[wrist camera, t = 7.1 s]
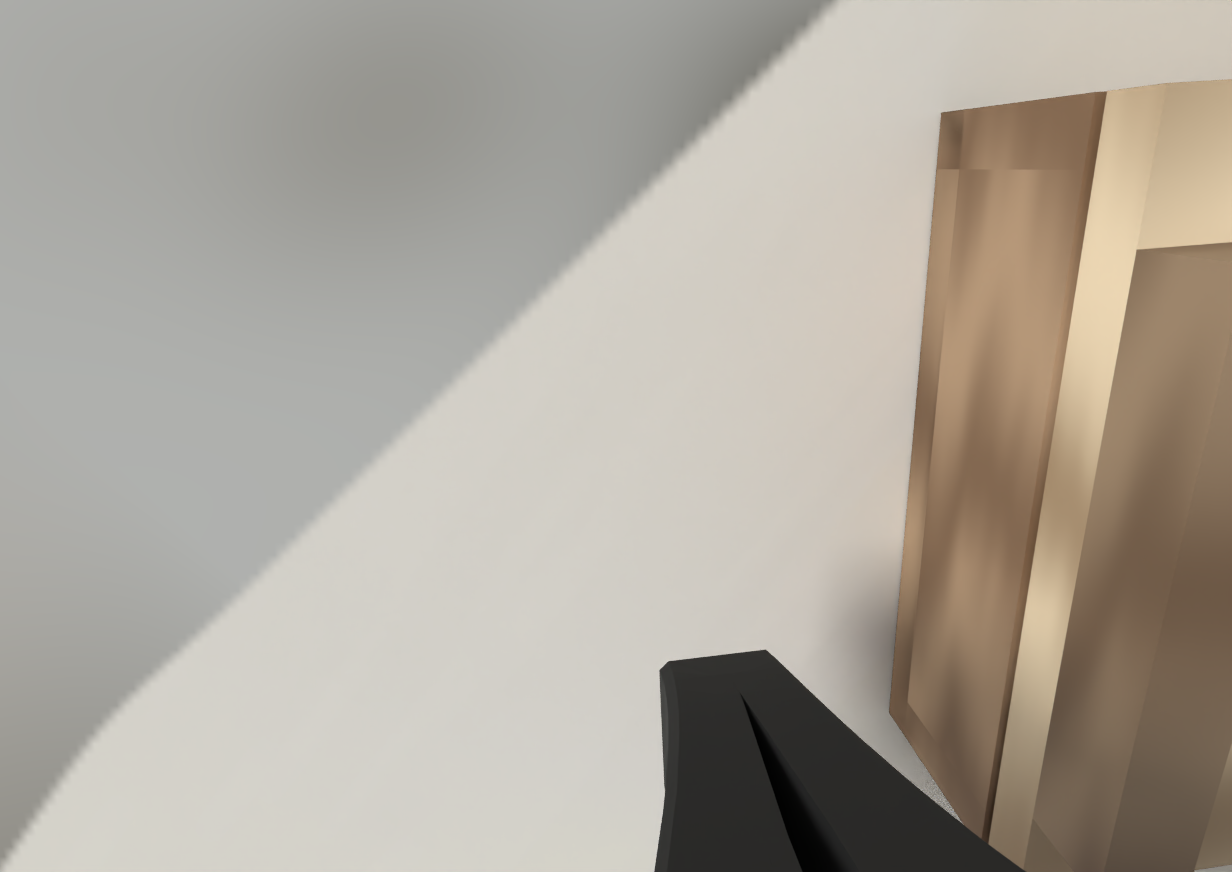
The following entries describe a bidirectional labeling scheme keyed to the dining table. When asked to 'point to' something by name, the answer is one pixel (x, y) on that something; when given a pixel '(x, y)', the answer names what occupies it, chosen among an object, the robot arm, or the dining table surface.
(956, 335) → the walnut box
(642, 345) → the dining table surface
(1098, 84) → the dining table surface
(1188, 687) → the lid
